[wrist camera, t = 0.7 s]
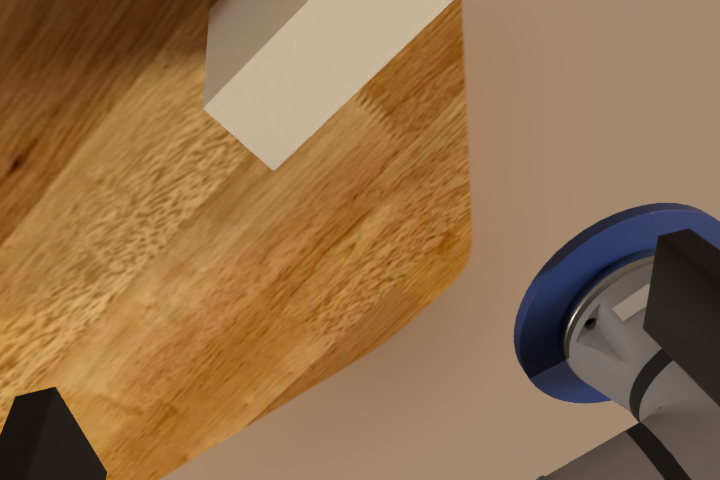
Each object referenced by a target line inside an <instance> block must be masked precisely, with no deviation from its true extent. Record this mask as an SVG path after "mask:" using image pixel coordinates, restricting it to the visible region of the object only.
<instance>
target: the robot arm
mask: <svg viewBox="0 0 720 480" xmlns="http://www.w3.org/2000/svg"><path fill="white" fill-rule="evenodd" d="M558 344H559V349H560V352H561V355H562V357H563V359H564V360H565V361H566V363H567V364H568V365H569V367H570V368H571V369H572V371H573V372H574V373H575V374H576V375H577V377H579V378H580V379H581V380H583V381H584V382H585V383H587V384H588V385H590V386H591V387H593V388H594V389H596V390H597V391H599V392H601V393H602V394H604V395H605V396H607V397H608V398H610V399H611V400H613V401H614V402H616V403H618V404H619V405H621V406H622V407H624V408H625V409H627V410H629V411H630V412H631V414H632V415H633V416H634V417H635V418H636V420H637V421H638V422H639V423H638V424H636V425H634V426H633V427H631V428H629V429H627V430H626V431H623V432H622V433H620V434H618V435H617V436H615V437H613V438H611V439H610V440H608V441H606V442H605V443H603V444H601V445H599V446H597V447H596V448H594V449H592V450H591V451H589V452H587V453H585V454H584V455H582V456H580V457H579V458H577V459H575V460H573V461H571V462H570V463H568V464H567V465H564V466H563V467H561V468H559V469H558V470H556V471H554V472H552V473H551V474H549V475H547V476H540V477H538V478H537V479H536V480H720V250H719V249H718V248H717V247H715V246H714V245H712V244H711V243H710V242H708V241H707V240H705V239H704V238H702V237H701V236H700V235H698V234H697V233H695V232H694V231H693V230H691V229H690V228H688V229H684V230H680V231H676V232H672V233H668V234H664V235H660V236H658V240H657V246H656V249H649V250H644V251H640V252H636V253H633V254H630V255H628V256H625V257H623V258H621V259H619V260H617V261H615V262H613V263H612V264H610V265H608V266H607V267H605V268H604V269H602V270H601V271H599V272H598V273H597V274H596V275H594V276H593V277H592V278H591V279H590V280H589V281H588V282H587V283H586V284H585V285H584V286H583V287H582V288H581V289H580V290H579V291H578V292H577V294H576V295H575V296H574V298H573V299H572V300H571V302H570V303H569V305H568V307H567V309H566V311H565V313H564V315H563V317H562V320H561V323H560V327H559V333H558ZM106 475H107V471H106V470H105V468H104V466H103V465H102V463H101V461H100V460H99V458H98V457H97V455H96V453H95V452H94V450H93V448H92V447H91V445H90V443H89V442H88V440H87V438H86V437H85V435H84V433H83V432H82V430H81V428H80V427H79V425H78V423H77V422H76V420H75V418H74V417H73V415H72V413H71V412H70V410H69V408H68V407H67V405H66V404H65V402H64V400H63V399H62V397H61V395H60V394H59V392H58V390H57V389H56V387H52V388H48V389H44V390H40V391H36V392H32V393H28V394H24V395H20V396H16V397H15V399H14V402H13V404H12V407H11V409H10V412H9V414H8V417H7V420H6V422H5V425H4V427H3V430H2V432H1V435H0V480H106Z"/></svg>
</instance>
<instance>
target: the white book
mask: <svg viewBox="0 0 720 480" xmlns="http://www.w3.org/2000/svg"><path fill="white" fill-rule="evenodd" d="M452 1H453V0H218V1H217V2H216V3H215V4H214V5H213V6H212V7H211V8H210V10H209V22H208V38H207V53H206V68H205V83H204V98H203V109H204V110H205V111H206V112H207V113H208V114H209V115H210V116H212V117H213V118H214V119H215V120H216V121H217V122H218V123H220V124H221V125H222V126H223V127H224V128H225V129H226V130H227V131H229V132H230V133H231V134H232V135H233V136H234V137H235V138H237V139H238V140H239V141H240V142H241V143H242V144H243V145H245V146H246V147H247V148H248V149H249V150H250V151H251V152H252V153H254V154H255V155H256V156H257V157H258V158H259V159H260V160H262V161H263V162H264V163H265V164H266V165H267V166H268V167H269V168H271V169H272V170H273V171H275V170H276V169H277V168H278V167H279V166H280V165H281V164H282V163H283V162H284V161H285V160H286V159H287V158H288V157H289V156H290V155H291V154H293V153H294V152H295V151H296V150H297V149H298V148H299V147H300V146H301V145H302V144H303V143H304V142H305V141H306V140H307V139H308V138H309V137H310V136H311V135H312V134H314V133H315V132H316V131H317V130H318V129H319V128H320V127H321V126H322V125H323V124H324V123H325V122H326V121H327V120H328V119H329V118H330V117H331V116H332V115H333V114H335V113H336V112H337V111H338V110H339V109H340V108H341V107H342V106H343V105H344V104H345V103H346V102H347V101H348V100H349V99H350V98H351V97H352V96H353V95H354V94H355V93H357V92H358V91H359V90H360V89H361V88H362V87H363V86H364V85H365V84H366V83H367V82H368V81H369V80H370V79H371V78H372V77H373V76H374V75H375V74H376V73H378V72H379V71H380V70H381V69H382V68H383V67H384V66H385V65H386V64H387V63H388V62H389V61H390V60H391V59H392V58H393V57H394V56H395V55H396V54H397V53H399V52H400V51H401V50H402V49H403V48H404V47H405V46H406V45H407V44H408V43H409V42H410V41H411V40H412V39H413V38H414V37H415V36H416V35H417V34H418V33H419V32H421V31H422V30H423V29H424V28H425V27H426V26H427V25H428V24H429V23H430V22H431V21H432V20H433V19H434V18H435V17H436V16H437V15H438V14H439V13H440V12H442V11H443V10H444V9H445V8H446V7H447V6H448V5H449V4H450V3H451V2H452Z"/></svg>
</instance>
